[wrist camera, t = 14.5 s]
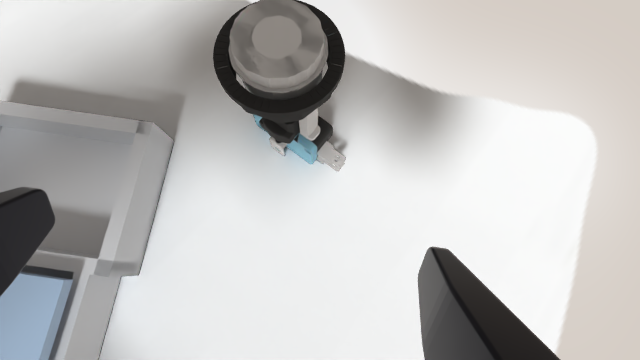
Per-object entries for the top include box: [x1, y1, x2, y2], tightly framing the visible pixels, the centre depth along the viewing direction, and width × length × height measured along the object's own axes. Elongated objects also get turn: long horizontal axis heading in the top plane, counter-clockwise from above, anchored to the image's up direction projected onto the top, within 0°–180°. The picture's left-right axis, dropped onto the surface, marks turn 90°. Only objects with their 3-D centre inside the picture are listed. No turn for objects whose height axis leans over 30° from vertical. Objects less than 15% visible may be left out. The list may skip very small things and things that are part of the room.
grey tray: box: [0, 101, 174, 360], centre depth 18 cm, size 19×12×3 cm, turn 172°
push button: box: [213, 0, 346, 171], centre depth 17 cm, size 7×5×10 cm
